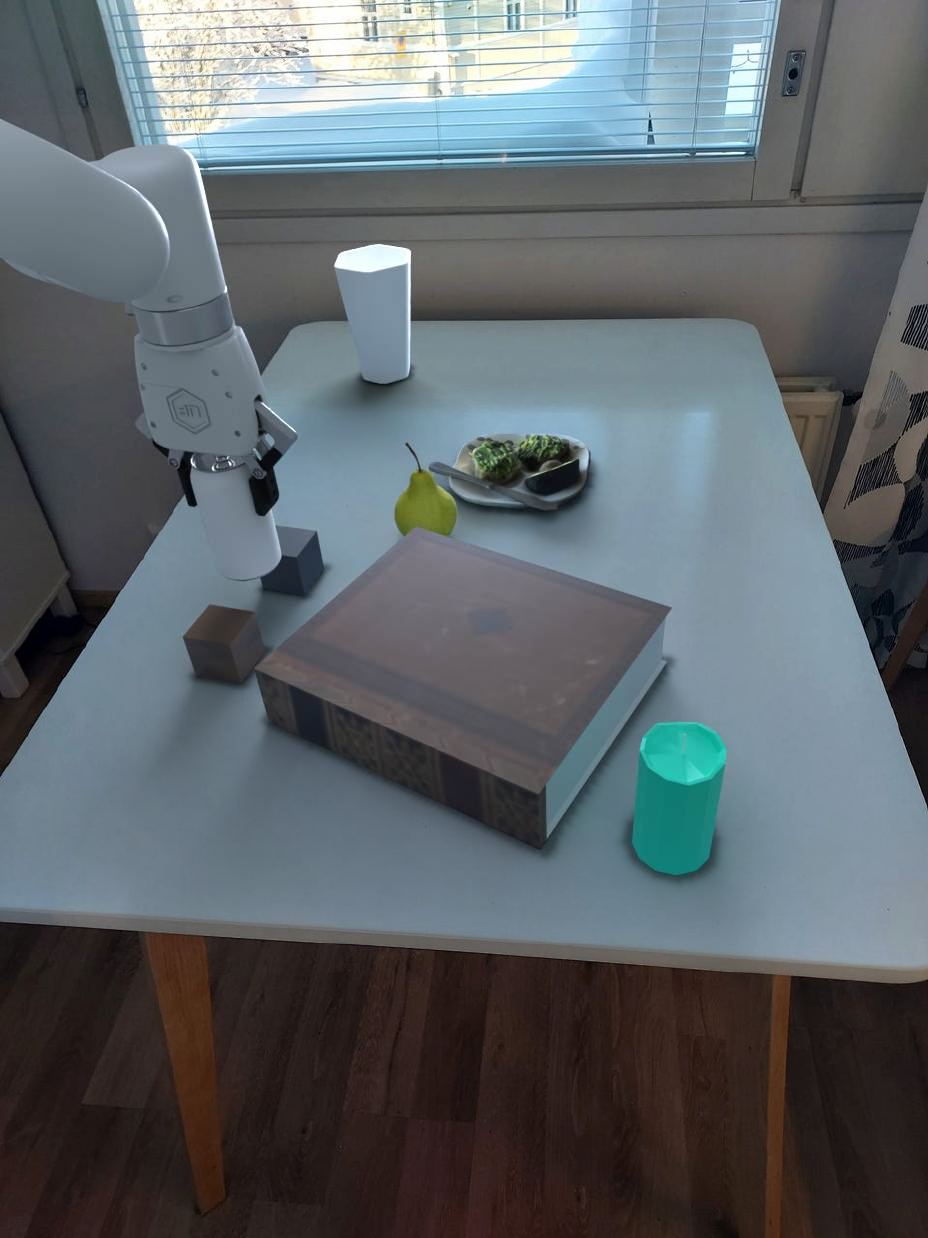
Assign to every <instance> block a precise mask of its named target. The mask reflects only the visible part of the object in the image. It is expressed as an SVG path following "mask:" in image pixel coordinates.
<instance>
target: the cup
mask: <svg viewBox="0 0 928 1238" xmlns="http://www.w3.org/2000/svg"><path fill="white" fill-rule="evenodd" d="M411 254H412V253H411V250H410V249H408V248H405V247H398V246H392V245H387V244H371V245H367V246H362V247H358V248H355V249H349V250H344V251H342V252H340V253H339V254H338V255H337V258H336V260H335V262H334V264H333V268H334V273H335V276H336V280H337V284H338V287H339V288H338V289H339V292H340V296H341V299H342V302H343V303H342V304H343V307H344V310H345V315H346V318H347V322H348V326H349V330H350V333H351V337H352V341H353V344H354V348H355V353H356V356H357V360H358V364H359V367H360V372H361V375H362V379H363V380H365V381H367V382H372V383H377V384H381V385H382V384H384V385H385V384H390V383H394V382H398V381H400V380H405V379H406V378H408V377H409V374H410V369H411V269H412V268H411V261H412V260H411V259H412V258H411V257H412V256H411Z"/></svg>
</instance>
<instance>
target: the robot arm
mask: <svg viewBox="0 0 928 1238" xmlns="http://www.w3.org/2000/svg"><path fill="white" fill-rule="evenodd" d="M213 227H214V226H213V222H212V218H211V215H210V209H209V205H208V201H207V196H206V191H205V187H204V183H203V178H202V175H201V171H200V167H199V164H198V162H197V160H196V159H195V157H194V156H193V155H192V153H191V152H190V151H188V150H187V149H185V148H183V147H182V146H177V145H173V144H166V143H164V144H162V143H158V144H157V143H156V144H155V143H153V144H142V145H137V146H132V147H131V146H130V147H127V148H123V149H119V150H116V151H113V152H111V153H109V154H108V155H106V156H104V157H103V158H101V159H99V160H92V161H86V160H85V159H82V158H80V157H78V156H77V155H75V154H73V153H71V152H69V151H67V150H65V149H63V148H62V147H60V146H58V145H56V144H54V143H51V142H50V141H48V140H46V139H44V138H42V137H40V136H38V135H35V134H34V133H31V132H29V131H27V130H25V129H24V128H21V127H18V126H16V125H14V124H12V123H10V122H8V121H6V120H4V119H1V118H0V259H2V260H3V261H4V262H6V264H8V265H9V266H10V267H12V268H13V269H15V270H17V272H20V273H22V274H24V275H25V276H28V277H30V278H33V279H35V280H39V281H41V282H44V283H48V284H51V285H54V286H58V287H60V288H64V289H69V290H72V291H75V292H77V293H81V294H83V295H87V296H90V297H92V298H95V299H98V300H101V301H104V302H109V303H124V305H123V308H124V312H125V314H126V315H128V316H130V317H131V316H132V317H134V318H135V320H136V323H137V327H138V331H139V332H138V333H137V334H136V335H135V336H134V337H133V346H134V347H133V348H134V363H135V370H136V377H137V378H136V379H137V384H138V389H139V394H140V398H141V403H142V407H143V411H142V413H141V414H140V415H139V416H138V418H137V419H136V420H135V421H134V426H135V428H136V429H137V430H138V431H139V432H141V434H142V435H144V436H145V438H147V439H148V440H149V441H151V442H152V445H153V447H154V448H155V449H157V451H159V452H160V453H161V454H162V455H164V456H165V458H167V463H168V465H169V467H171V468H172V469H174V470H176V471H177V474H178V478H179V481H180V485H181V488H182V491H183V494H184V496H185V500H186V504H187V506H188V507H192V508H196V507H198V505H197V502H196V498H195V495H194V491H193V488H192V484H191V479H190V473H191V469H192V466H191V463H190V459H191V457H192V455H193V454H194V453H195V452H196V453H205V454H214V455H223V456H233V457H241V458H242V459H243V461H244V462H245V464H246V465H247V467H248V468H249V470H250V471H251V473H252V474H253V475H252V476H251V477H250V478H249V486H250V490H251V494H252V498H253V502H254V506H255V510H256V513H257V514H258V515H259V516H265V515H266V514H267V513H268V512H269V511H270V509H272V508H273V507H274V506H275V505H276V504H277V503H278V501H279V499H280V490H279V486H278V481H277V476H276V473H275V466H276V465H277V464H278V462H279V461H280V460H281V459H282V458H283V457H284V456H285V455H286V454H287V452H288V451H289V450H290V449H291V447H292V446H293V445H294V443H296V441H297V440H298V438H299V434H298V432H297V431H296V430H294V428H293V427H291V426H290V425H289V424H288V423H286V422H285V421H284V420H283V419H282V418H281V417H280V416H278V415H277V414H276V413H275V412H274V411H273V410H271V408H270V404H269V400H268V396H267V393H266V389H265V385H264V383H263V379H262V376H261V372H260V369H259V367H258V364H257V361H256V358H255V356H254V353H253V351H252V347H251V345H250V343H249V340H248V338H247V337H246V335H245V332H244V330H243V328H242V327H241V326H240V325H236V323H235V319H234V318H235V317H234V315H233V314H234V313H233V309H232V306H231V301H230V296H229V292H228V288H227V283H226V280H225V276H224V271H223V267H222V262H221V258H220V254H219V249H218V244H217V241H216V237H215V231H214V228H213ZM265 435H269V436H270V437H271V438H272V439H273V442H274V443H273V444H272V446H271V445H270V443H269V442H268V440H267V439H266V437H265ZM254 450H255V451H256V452H257V453H256V452H255V451H254ZM257 454H258V455H259V456H258V455H257ZM259 457H260V458H259Z"/></svg>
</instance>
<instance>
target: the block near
mask: <svg viewBox="0 0 928 1238" xmlns="http://www.w3.org/2000/svg"><path fill="white" fill-rule="evenodd" d="M182 639H183V642H184V645H185V648H186V651H187V654H188V657H189V660H190V663H191V666H192V669H193V672H194V674H195V676H196V677H201V678H206V679H211V680H216V681H222V682H226V683H232V684H236V685H242V684H243V683H244V681H245V680H246V679H247V677H248V676H249V674H250V673H251V671H252V670H254V668H255V667H256V665H257V664H258V662H259V660H260V659H261V658H262V656H263V655H264V654H265V652H266V647H265V645H264V641H263V636H262V633H261V629H260V626H259V622H258V617H257V614H256V612H255V611H252V610H246V609H241V608H234V607H229V606H223V605H217V604H211V603H210V604H208V606H207V607H206V608H205V609H204V610H203V612H201V614H200V615H199V616H198V618H197V619H196V620H195V621H194V622H193V624H191V626H190V627H189V628H188V629H187V630H186V632H185V633H184V635H182Z"/></svg>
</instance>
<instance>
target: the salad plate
mask: <svg viewBox="0 0 928 1238" xmlns="http://www.w3.org/2000/svg"><path fill="white" fill-rule="evenodd" d="M591 455H592V453H591V450H590V449H589V447H588V445H587V444H585V443H584V442H583V441H581V440H579V439H577V438H575V437H573V436H570V435H566V434H556V433H553V434H552V433H551V434H549V433H548V434H547V433H546V434H545V433H542V434H541V433H533V434H530V433H516V432H513V433H512V432H492V433H491V432H490V433H486V434H482V435H479V436H476V437H474V438H471V439H470V440H468V441H467V442H466V443H464V445H462V447H461V448H460V450H459V452H458V455H457V457H456V460H455V462H454V464H453V465H452V466H450V465H448V464H445V463H444V462H441V461H433V462H431V463H429V464H428V467H427V468H428V471H429V472H431V473H434V474H435V475H438V476H440V477H442V478H444V479H445V480H446V481H447V482H448V485H449V488H450V490H451V491H452V492H454V494H456V495H457V496H458V497H460V498H461V499H462V500H464V501H466V502H468V503H472V504H476V505H480V506H485V507H494V508H495V507H497V508H507V509H515V510H522V511H529V512H531V511H533V512H534V511H535V512H541V511H542V512H547V511H548V512H549V511H554V510H558V509H563V508H564V507H566V506H568V505H571V504H572V503H573V502H575V501H576V500H577V499H578V498H579V497H580V495H581V493H582V492H583V490H584V488H585V485H586V483H587V482H588V474H589V469H590V466H591V462H592V459H591Z"/></svg>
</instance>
